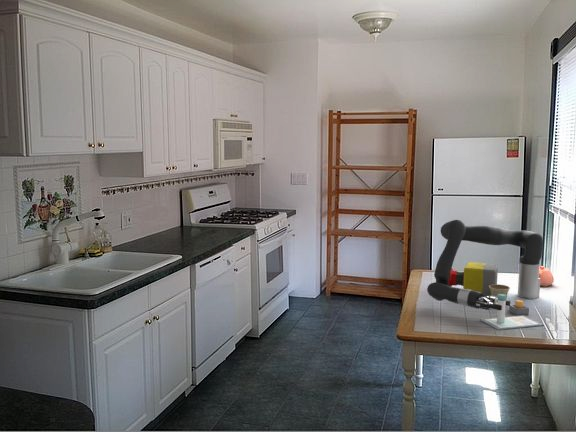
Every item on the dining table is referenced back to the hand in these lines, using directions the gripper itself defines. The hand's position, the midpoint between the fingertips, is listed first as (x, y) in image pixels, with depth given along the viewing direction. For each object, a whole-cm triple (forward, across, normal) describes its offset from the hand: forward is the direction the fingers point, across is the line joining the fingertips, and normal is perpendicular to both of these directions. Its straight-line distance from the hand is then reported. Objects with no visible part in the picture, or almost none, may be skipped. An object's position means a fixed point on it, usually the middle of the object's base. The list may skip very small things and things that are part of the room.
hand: (505, 305), depth 235 cm
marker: (-2, 0, +8) cm, 8 cm away
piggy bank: (-13, +76, +9) cm, 78 cm away
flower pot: (-15, +27, +9) cm, 32 cm away
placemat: (+1, +4, +8) cm, 9 cm away
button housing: (-2, +20, +8) cm, 22 cm away
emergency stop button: (-33, +35, +9) cm, 49 cm away
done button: (-2, +20, +7) cm, 21 cm away
